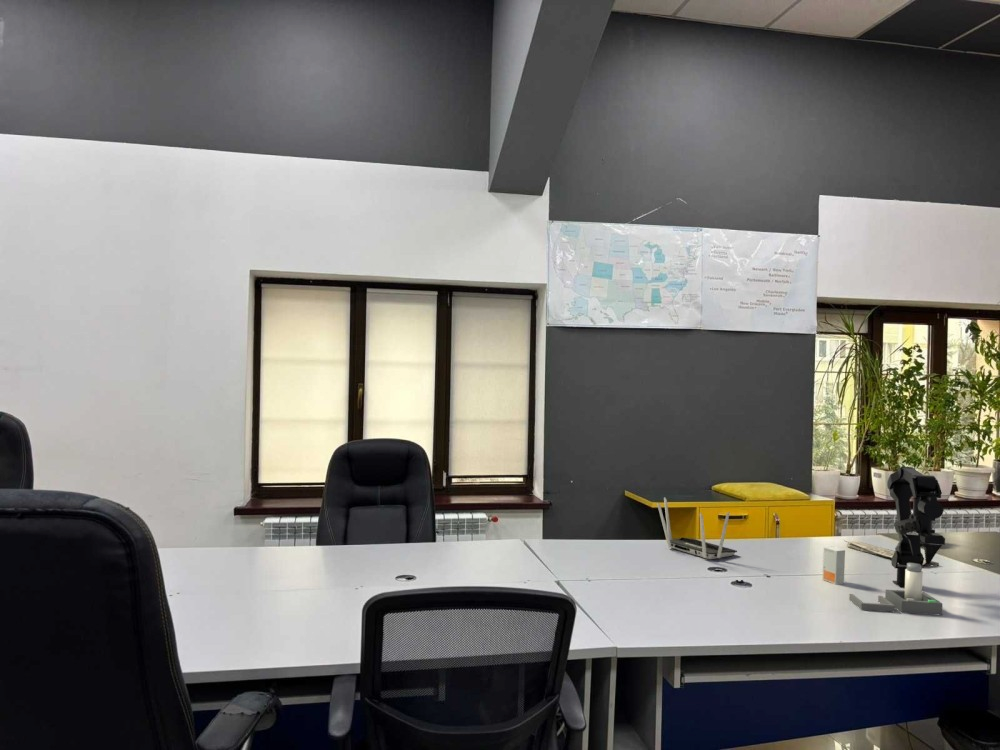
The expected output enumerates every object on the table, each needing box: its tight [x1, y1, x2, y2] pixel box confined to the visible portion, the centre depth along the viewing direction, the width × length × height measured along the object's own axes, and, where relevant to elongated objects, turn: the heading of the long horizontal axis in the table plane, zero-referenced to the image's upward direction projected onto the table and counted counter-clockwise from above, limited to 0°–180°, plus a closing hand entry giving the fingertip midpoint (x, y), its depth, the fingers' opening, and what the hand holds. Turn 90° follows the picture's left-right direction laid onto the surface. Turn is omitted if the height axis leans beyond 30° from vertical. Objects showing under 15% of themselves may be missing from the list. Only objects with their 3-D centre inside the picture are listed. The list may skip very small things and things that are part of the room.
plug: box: [904, 563, 924, 601], centre depth 231 cm, size 5×5×13 cm
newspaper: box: [843, 539, 940, 569], centre depth 298 cm, size 35×12×4 cm, turn 26°
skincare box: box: [822, 545, 846, 585], centre depth 257 cm, size 6×4×12 cm
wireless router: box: [656, 497, 738, 560], centre depth 293 cm, size 34×23×20 cm
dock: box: [884, 589, 943, 616], centre depth 231 cm, size 12×12×4 cm
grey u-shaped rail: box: [848, 593, 896, 612], centre depth 231 cm, size 10×10×2 cm
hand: (921, 559), depth 241 cm, fingers open, 9 cm apart
